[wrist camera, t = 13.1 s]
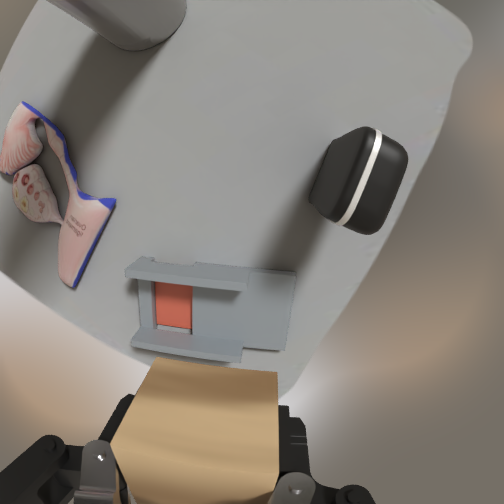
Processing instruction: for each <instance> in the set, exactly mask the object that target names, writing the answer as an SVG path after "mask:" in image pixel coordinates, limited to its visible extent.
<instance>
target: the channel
mask: <svg viewBox="0 0 504 504" xmlns="http://www.w3.org/2000/svg"><path fill="white" fill-rule="evenodd" d="M125 277H127V278H135V279H138V293H139V308H140V321H141V327H140V328H139V330H138V331H137V332H136V334H135V335H134V336H133V338H132V339H131V346H132V347H137V348H142V349H148V350H153V351H158V352H164V353H170V354H176V355H182V356H188V357H195V358H202V359H209V360H217V361H225V362H234V363H241V357H242V350H243V347H248V348H258V349H269V350H282V351H285V347H286V341H287V335H288V328H289V322H290V316H291V309H292V303H293V296H294V289H295V282H296V273H295V272H289V271H278V270H268V269H257V268H247V267H237V266H227V265H217V264H207V263H197V262H196V263H195V264H194V266H188V265H179V264H170V263H161V262H154V258H150V257H140V258H139V259H137V260H136V261H135V262H133V263H132V264H131V265H129V266H128V267H127V268H126V269H125ZM155 295H156V300H155ZM156 316H157V320H156ZM157 324H162V325H168V326H175V327H182V328H189V329H192V335H191V334H184V333H178V332H171V331H165V330H159V329H157Z"/></svg>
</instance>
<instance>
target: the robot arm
mask: <svg viewBox="0 0 504 504" xmlns="http://www.w3.org/2000/svg"><path fill="white" fill-rule="evenodd" d="M46 1H48V2H50V3H52V4H53V5H55V6H57V7H58V8H60V9H61V10H63V11H65V12H66V13H68V14H69V15H71V16H73V17H74V18H76V19H77V20H79V21H80V22H82V23H83V24H85V25H86V26H88V27H89V28H91V29H92V30H94V31H95V32H97V33H98V34H100V35H101V36H103V37H104V38H106V39H107V40H109V41H110V42H111V43H113V44H114V45H116V46H117V47H119V48H121V49H123V50H129V51H138V50H143V49H147V48H150V47H152V46H155V45H157V44H159V43H160V42H162V41H164V40H165V39H166V38H168V37H169V36H170V35H171V34H172V33H173V32H174V31H175V30H176V29H177V28H178V27H179V25H180V24H181V22H182V21H183V18H184V16H185V13H186V8H187V7H186V0H46ZM138 390H139V389H138ZM137 392H138V391H137ZM136 394H137V393H136ZM134 397H135V395H132V394H128V395H127V396H125V397H124V398H122V399H121V400H120V402H119V404H118V405H117V407H116V410H115V411H114V412H113V414H112V416H111V417H110V419H109V421H108V423H107V424H106V426H105V428H104V430H103V431H102V433H101V435H100V437H99V439H98V440H93V441H91V442H89V443H87V444H86V445H85V446H73V445H65V444H64V442H63V440H62V439H61V438H59V437H57V436H55V435H45V436H43V437H41V438H40V439H39V440H37V441H36V442H35V443H34V444H33V445H32V446H31V447H29V448H28V449H27V450H26V451H25V452H23V453H22V454H21V455H20V456H19V457H18V458H17V459H15V460H14V461H13V462H12V463H11V464H10V465H8V466H7V467H6V468H5V469H4V470H3V471H2V472H0V504H68V502H69V501H70V500H71V499H72V498H73V497H74V504H131V502H130V489H129V487H128V485H127V483H126V481H125V478H124V476H123V474H122V472H121V470H120V467H119V465H118V463H117V460H116V458H115V456H114V453H113V451H112V448H111V446H110V443H111V441H112V439H113V437H114V435H115V433H116V431H117V429H118V428H119V426H120V424H121V422H122V420H123V418H124V416H125V414H126V412H127V410H128V409H129V407H130V405H131V403H132V401H133V399H134ZM278 425H279V476H278V479H277V482H276V485H275V488H274V491H273V494H272V496H271V498H270V500H269V501H268V503H267V504H376V503H375V502H374V500H373V498H372V497H371V494H370V493H369V491H368V490H367V489H365V488H364V487H362V486H359V485H347V486H344V487H343V488H341V489H335V488H331V487H326V486H323V485H321V484H319V483H317V482H316V481H315V480H314V479H313V478H312V476H311V473H310V466H309V456H308V446H307V438H306V428H305V425H304V423H303V422H302V420H301V419H300V418H296V417H289V406H283V405H282V406H281V405H278Z"/></svg>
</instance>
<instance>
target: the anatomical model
mask: <svg viewBox="0 0 504 504" xmlns="http://www.w3.org/2000/svg"><path fill="white" fill-rule="evenodd" d="M37 118H41V119H43V122H44V125H45V129H46V133H47V138H48V143H49V145H50V146H51V148H52V149H53V151H54V152H55V153H56V155H57V156H58V158H59V160H60V162H61V165H62V167H63V170H64V173H65V178H66V182H67V185H68V189H69V201H68V205H67V210H66V214H65V218H64V220H63V219H62V217H61V216H60V213H59V210H58V204H57V199H56V197H55V195H54V194H53V192H52V189H51V187H50V184H49V182H48V180H47V178H46V176H45V174H44V172H43V169H42V168H41V166H39V165H37V164H32V165H30V166H27V165H28V164H29V163H31V162H32V161H33V160H34V159H35V158H36V157H37V156H39V155H40V153H41V151H42V148H43V145H42V143H41V141H40V140H39V138H38V136H37V133H36V130H35V120H36V119H37ZM25 166H27V167H25ZM23 167H25V168H23ZM21 168H23V169H21ZM19 169H21V170H19ZM18 170H19V171H18ZM0 171H1V172H2V173H4V174H7V175H13V174H15V173H16V172H17V171H18V172H17V173H16V174H15V176H14V179H13V187H12V193H13V199H14V202H15V204H16V206H17V207H18V208H19V209H20V210H21V211H22V212H23V214H24V215H25V216H27V217H28V218H29V219H30V220H32V221H34V222H41V223H42V222H58V223H60V224H61V225H62V226H61V229H60V233H59V241H58V273H59V277H60V278H61V280H62V281H63V282H64V283H66V284H67V285H69V286H70V287H73V288H74V287H75V286H76V284H77V282H78V280H79V278H80V276H81V274H82V272H83V270H84V268H85V266H86V263H87V261H88V259H89V257H90V255H91V253H92V250H93V249H94V246H95V244H96V242H97V240H98V238H99V236H100V234H101V232H102V230H103V228H104V226H105V224H106V222H107V219H108V218H109V215H110V213H111V211H112V209H113V207H114V205H115V203H116V199H114V198H96V197H93V196H90V195H88V194H86V193H83V192H82V191H81V190H80V189H79V187H78V185H77V173H76V170H75V168H74V167H73V165H72V163H71V161H70V158H69V154H68V149H67V145H66V141H65V138H64V135H63V134H62V133H61V131H60V130H59V129H58V128H57V127H56V126H55V125H54V124H53V123H52V122H51V121H50V120H49V119H48V118H46V117H45V116H43V115H42V114H41V113H40V112H39V111H37V110H36V109H35V108H33V107H32V106H30V105H29V104H27V103H25V102H21V103H20V104H19V105H18V106H17V108H16V109H15V111H14V112H13V114H12V116H11V118H10V120H9V122H8V125H7V127H6V130H5V135H4V140H3V146H2V152H1V155H0Z"/></svg>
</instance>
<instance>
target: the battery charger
mask: <svg viewBox="0 0 504 504" xmlns="http://www.w3.org/2000/svg"><path fill="white" fill-rule="evenodd" d="M407 164H408V155H407V152H406V150H405V149H404V148H403V146H402V145H400V144H399V143H398V142H396V141H394V140H393V139H391V138H389V137H387V136H385V135H383V134H382V133H381V132H380V131H379V130H377V129H375V128H370V127H360V128H357V129H355V130H353V131H351V132H349V133H347V134H345V135H343V136H342V137H340V138H337V139H334V140H333V141H332V143H331V145H330V147H329V150H328V152H327V155H326V157H325V160H324V162H323V165H322V167H321V169H320V172H319V174H318V177H317V179H316V182H315V184H314V186H313V189H312V191H311V194H310V196H309V199H308V200H309V202H310V203H311V204H313V205H314V206H315V207H316V209H317V210H318V211H319V213H320V214H321V215H323V216H324V217H325V218H327V219H328V220H329V221H331V222H332V223H334V224H336V225H339V226H344V227H346V228H348V229H351V230H353V231H355V232H358V233H361V234H365V235H371V234H373V233H375V232H377V231H378V230H379V229H380V228H381V227H382V225H383V224H384V222H385V220H386V218H387V215H388V213H389V211H390V209H391V206H392V204H393V202H394V199H395V197H396V194H397V192H398V189H399V187H400V184H401V182H402V179H403V176H404V174H405V171H406V168H407Z"/></svg>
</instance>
